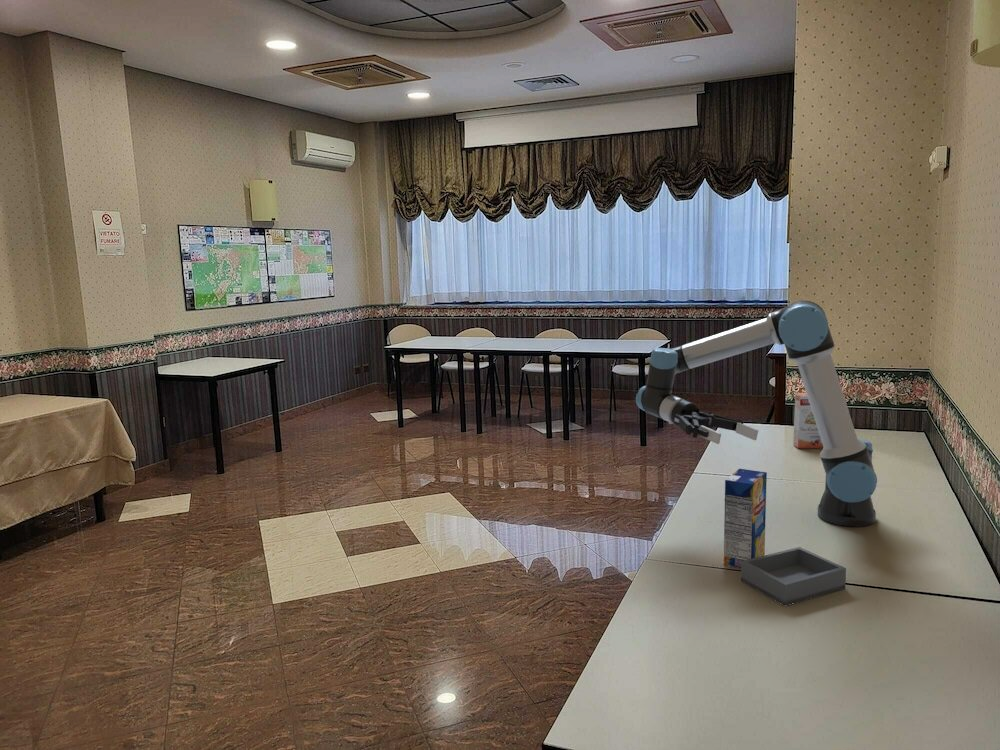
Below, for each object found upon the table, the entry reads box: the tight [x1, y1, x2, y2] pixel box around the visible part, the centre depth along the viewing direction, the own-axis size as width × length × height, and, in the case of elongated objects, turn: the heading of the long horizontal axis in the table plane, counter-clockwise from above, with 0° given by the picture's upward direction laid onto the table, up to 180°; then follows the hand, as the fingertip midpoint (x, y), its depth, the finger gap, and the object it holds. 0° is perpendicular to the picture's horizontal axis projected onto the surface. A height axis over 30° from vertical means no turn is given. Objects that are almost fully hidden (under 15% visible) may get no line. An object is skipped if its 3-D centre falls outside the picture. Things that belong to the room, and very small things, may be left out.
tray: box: [740, 546, 847, 606], centre depth 173 cm, size 18×14×5 cm
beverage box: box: [723, 468, 768, 569], centre depth 186 cm, size 7×11×22 cm, turn 144°
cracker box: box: [792, 392, 823, 449], centre depth 284 cm, size 14×6×21 cm, turn 88°
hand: (738, 437), depth 190 cm, fingers open, 13 cm apart
